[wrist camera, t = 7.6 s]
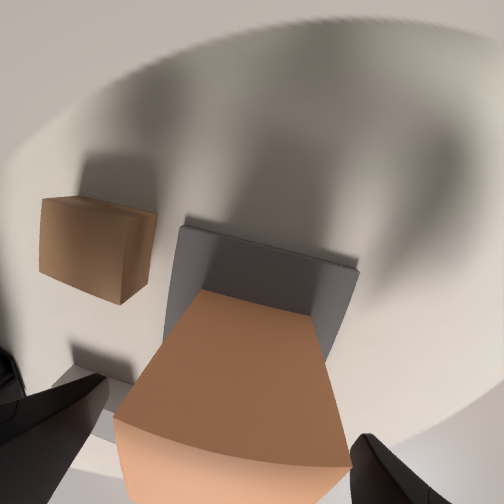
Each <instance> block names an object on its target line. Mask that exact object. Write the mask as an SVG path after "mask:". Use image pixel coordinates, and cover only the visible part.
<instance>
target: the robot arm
mask: <svg viewBox="0 0 504 504" xmlns="http://www.w3.org/2000/svg"><path fill="white" fill-rule="evenodd" d="M109 394H110V390H109V379H108V377H107V376H106V375H104V374H101V373H99V372H96V373H93V374H90V375H88V376H85V377H82V378H79V379H77V380H74V381H71V382H68V383H65V384H63V385H60V386H57V387H54V388H51V389H48V390H45V391H42V392H39V393H36V394H33V395H30V396H26V397H25V395H24V392H23V389H22V386H21V383H20V380H19V377H18V374H17V371H16V367H15V364H14V361H13V359H12V357H11V356H10V355H9V354H7V353H6V352H5V351H4V350H2V349H1V348H0V504H47V503H48V501H49V500H50V498H51V496H52V495H53V493H54V491H55V490H56V488H57V486H58V485H59V483H60V481H61V480H62V478H63V476H64V475H65V473H66V472H67V470H68V468H69V467H70V465H71V464H72V462H73V460H74V459H75V457H76V456H77V454H78V452H79V451H80V449H81V448H82V446H83V445H84V443H85V441H86V440H87V438H88V437H89V435H90V434H91V432H92V430H93V429H94V427H95V425H96V423H97V421H98V419H99V416H100V414H101V412H102V410H103V408H104V406H105V404H106V402H107V400H108V398H109ZM350 458H351V462H352V466H353V467H352V468H351V469H350V490H351V499H352V504H452V503H450V502H448V501H447V500H446V499H444V498H443V497H442V496H441V495H439V494H438V493H437V492H436V491H434V490H433V489H432V488H431V487H429V486H428V485H427V484H426V483H425V482H424V481H423V480H422V479H421V478H419V477H418V476H417V475H416V474H415V473H414V472H413V471H412V470H411V469H409V468H408V467H407V466H406V465H405V464H404V463H403V462H402V461H401V460H400V459H398V458H397V457H396V456H395V455H394V454H393V453H392V452H391V451H390V450H389V449H388V448H387V447H386V446H385V445H384V444H383V443H382V442H381V441H379V440H378V439H377V438H376V437H375V436H374V435H373V434H371V433H363V434H361V435H360V436H359V437H358V439H357V440H356V441H355V443H354V444H353V445H352V447H351V449H350Z"/></svg>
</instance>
